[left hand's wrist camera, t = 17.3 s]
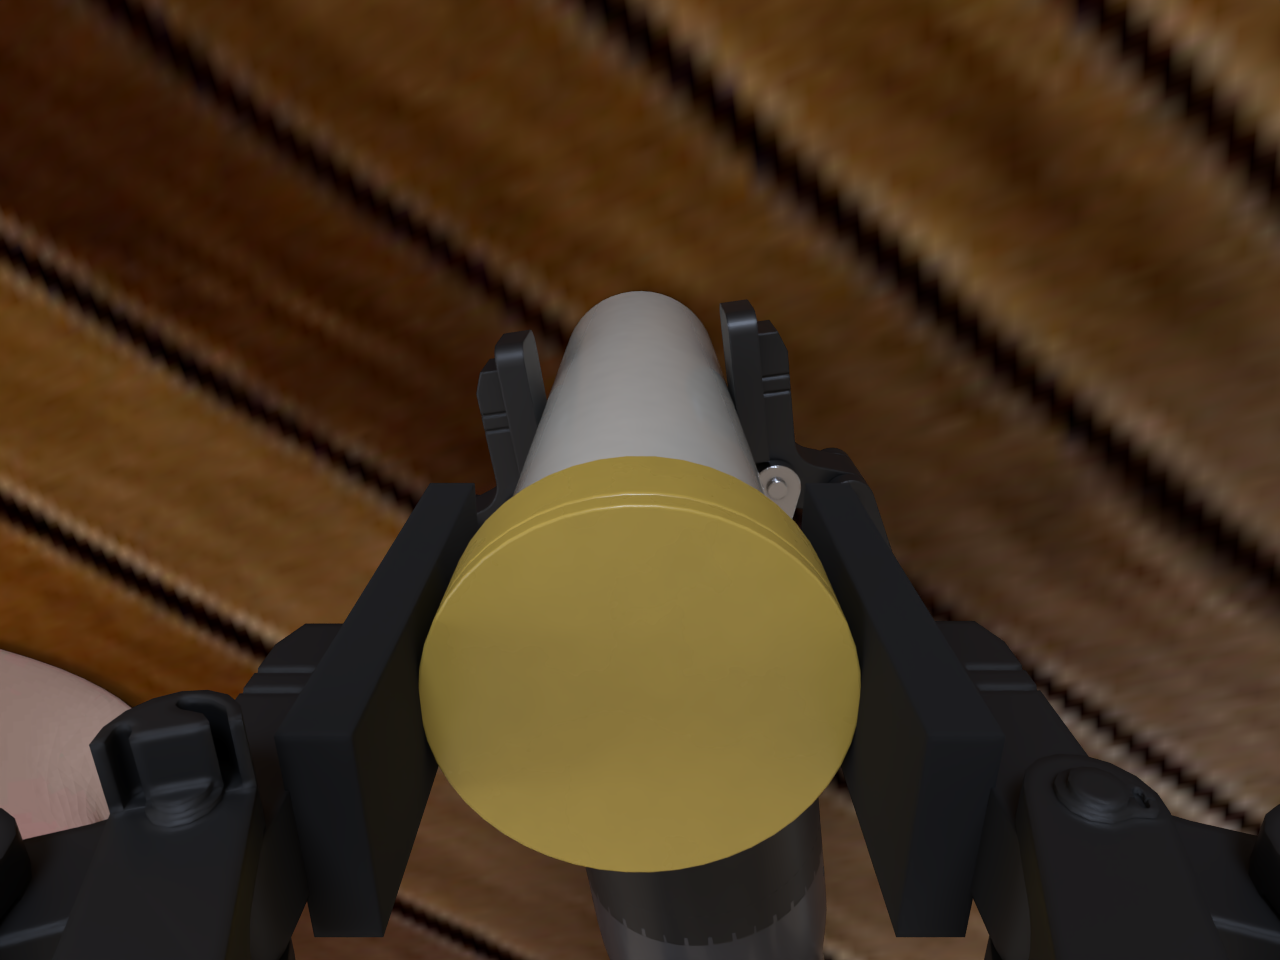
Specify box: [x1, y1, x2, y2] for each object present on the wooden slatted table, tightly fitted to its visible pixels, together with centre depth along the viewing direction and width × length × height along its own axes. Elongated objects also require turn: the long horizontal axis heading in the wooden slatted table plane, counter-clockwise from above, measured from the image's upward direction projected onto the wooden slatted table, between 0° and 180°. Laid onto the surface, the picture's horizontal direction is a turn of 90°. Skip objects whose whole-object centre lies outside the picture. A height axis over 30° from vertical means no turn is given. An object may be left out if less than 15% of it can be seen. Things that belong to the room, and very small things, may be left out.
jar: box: [513, 291, 767, 497], centre depth 19 cm, size 5×5×17 cm
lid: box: [419, 456, 861, 872], centre depth 11 cm, size 6×6×2 cm
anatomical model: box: [0, 649, 131, 839], centre depth 31 cm, size 13×4×12 cm
